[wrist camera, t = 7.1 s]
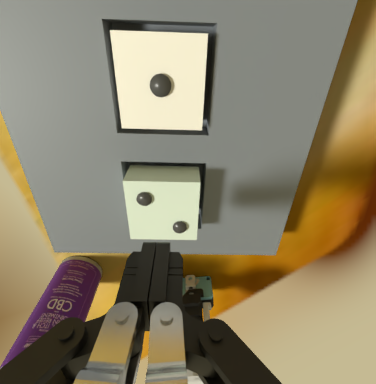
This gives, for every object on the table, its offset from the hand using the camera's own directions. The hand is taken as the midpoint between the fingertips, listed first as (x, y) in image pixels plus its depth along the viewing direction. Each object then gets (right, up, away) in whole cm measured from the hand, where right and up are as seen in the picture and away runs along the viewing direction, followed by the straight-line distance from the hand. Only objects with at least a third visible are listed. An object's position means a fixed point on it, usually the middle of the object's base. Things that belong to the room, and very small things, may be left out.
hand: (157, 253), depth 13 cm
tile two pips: (0, +3, +5) cm, 6 cm away
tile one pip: (0, +11, +2) cm, 11 cm away
